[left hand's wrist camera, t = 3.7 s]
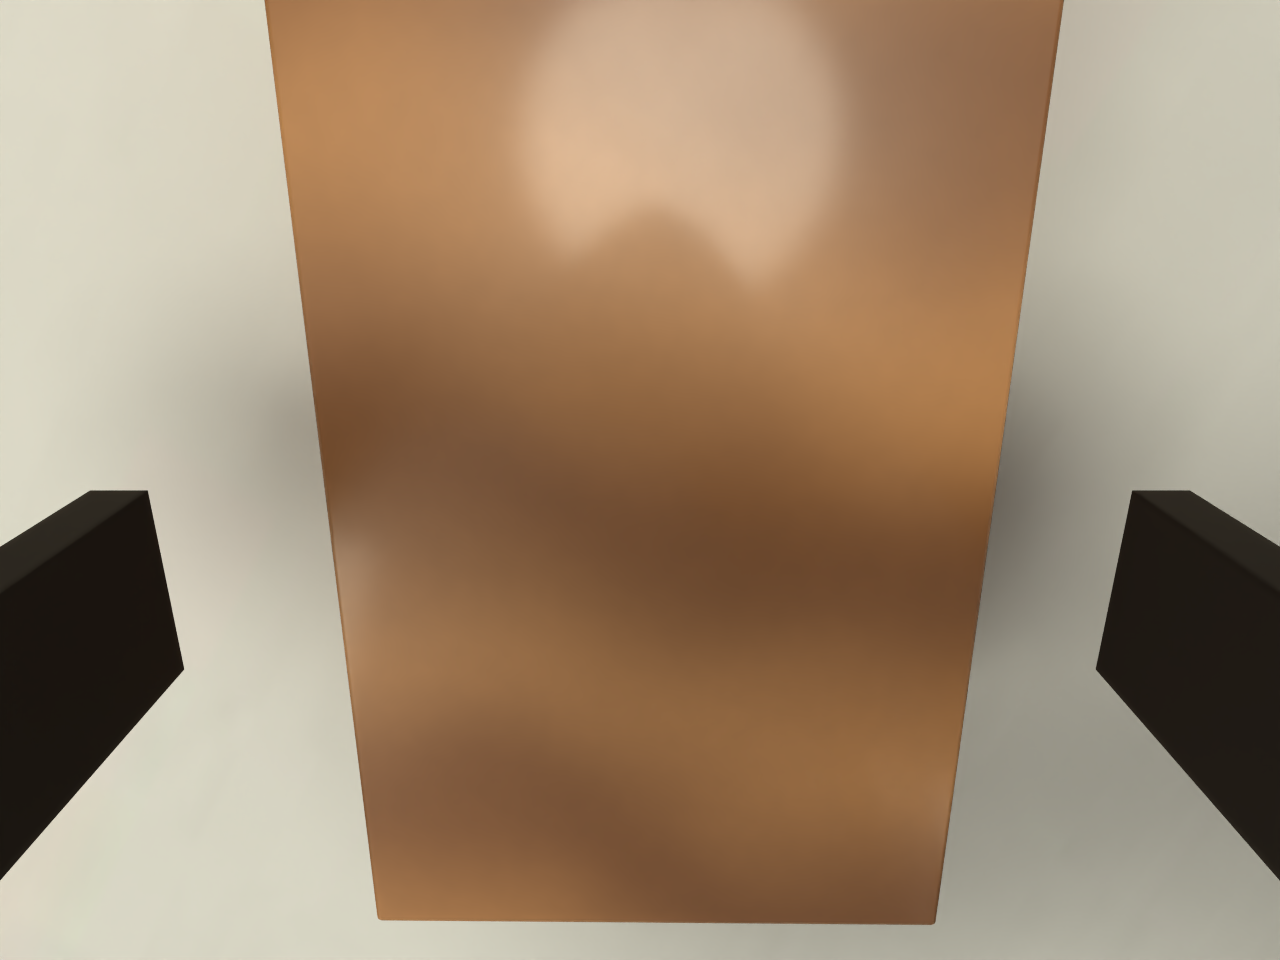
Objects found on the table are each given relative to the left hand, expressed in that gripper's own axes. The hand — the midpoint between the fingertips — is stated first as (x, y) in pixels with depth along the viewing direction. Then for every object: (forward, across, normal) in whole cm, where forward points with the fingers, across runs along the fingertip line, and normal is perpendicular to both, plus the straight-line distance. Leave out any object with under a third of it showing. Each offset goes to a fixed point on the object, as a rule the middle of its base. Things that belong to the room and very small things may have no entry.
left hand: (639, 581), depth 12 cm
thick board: (+9, 0, -33) cm, 34 cm away
